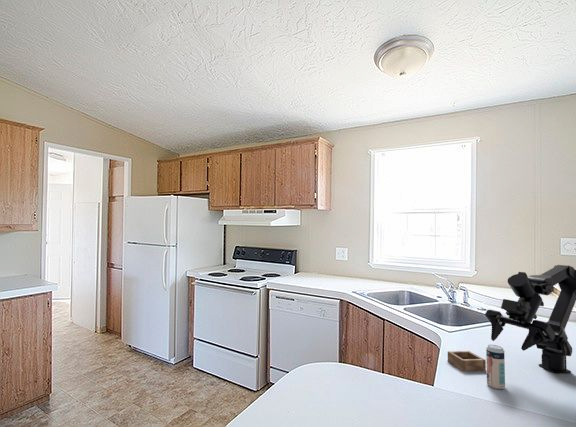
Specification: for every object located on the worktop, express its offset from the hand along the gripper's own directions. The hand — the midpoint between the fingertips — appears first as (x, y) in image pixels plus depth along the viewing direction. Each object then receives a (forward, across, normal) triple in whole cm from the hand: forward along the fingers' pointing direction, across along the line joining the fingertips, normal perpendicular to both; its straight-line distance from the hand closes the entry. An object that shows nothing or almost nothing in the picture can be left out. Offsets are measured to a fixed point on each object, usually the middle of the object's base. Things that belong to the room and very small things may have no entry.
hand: (506, 344), depth 101 cm
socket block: (+8, -14, +9) cm, 19 cm away
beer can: (+13, 0, +5) cm, 13 cm away
